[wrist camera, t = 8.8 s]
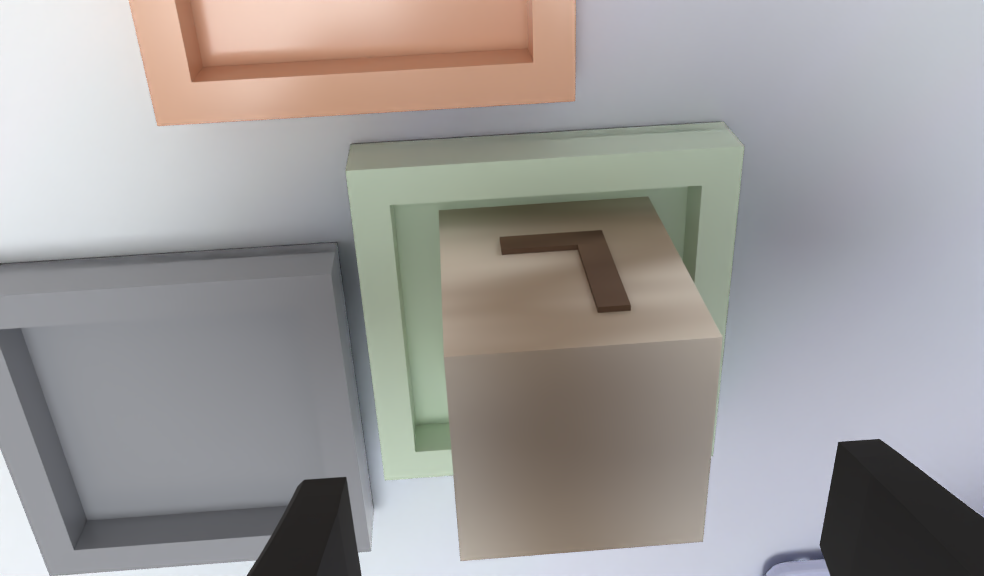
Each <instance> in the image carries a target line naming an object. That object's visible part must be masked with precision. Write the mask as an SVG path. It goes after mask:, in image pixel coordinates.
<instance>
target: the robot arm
mask: <svg viewBox="0 0 984 576" xmlns="http://www.w3.org/2000/svg"><path fill="white" fill-rule="evenodd" d="M820 548H821V551H822V553H823V556H824V559H819V560H806V561H793V562H784V563H779V564H777V565H775V566H773V567H772V568H771V569H770V570H769V571H768V572H767V573H766V576H984V518H983V517H982V516H981V515H979V514H978V513H976V512H975V511H974V510H972V509H971V508H970V507H969V506H967V505H966V504H965V503H963V502H962V501H961V500H959V499H958V498H957V497H955V496H954V495H953V494H951V493H950V492H949V491H947V490H946V489H945V488H944V487H942V486H941V485H940V484H938V483H937V482H936V481H934V480H933V479H932V478H931V477H929V476H928V475H927V474H925V473H924V472H923V471H921V470H920V469H919V468H918V467H916V466H915V465H914V464H912V463H911V462H910V461H908V460H907V459H906V458H904V457H903V456H902V455H901V454H899V453H898V452H897V451H895V450H894V449H893V448H891V447H890V446H888V445H887V444H886V443H884V442H883V441H881V440H880V439H874V440H860V441H845V442H838V447H837V452H836V458H835V463H834V469H833V474H832V480H831V485H830V491H829V496H828V502H827V507H826V513H825V518H824V524H823V529H822V535H821V540H820ZM247 576H361V570H360V563H359V556H358V550H357V543H356V537H355V530H354V524H353V517H352V511H351V504H350V497H349V491H348V484H347V478H346V477H335V478H321V479H307V480H303V481H302V482H301V483H300V484H299V485H298V486H297V488H296V490H295V492H294V494H293V496H292V498H291V500H290V502H289V504H288V506H287V508H286V510H285V512H284V514H283V516H282V517H281V519H280V521H279V523H278V525H277V526H276V528H275V530H274V532H273V534H272V535H271V537H270V539H269V540H268V542H267V544H266V546H265V547H264V549H263V551H262V552H261V554H260V556H259V557H258V559H257V560H256V562H255V564H254V565H253V567H252V568H251V570H250V571H249V573H248V575H247Z"/></svg>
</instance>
